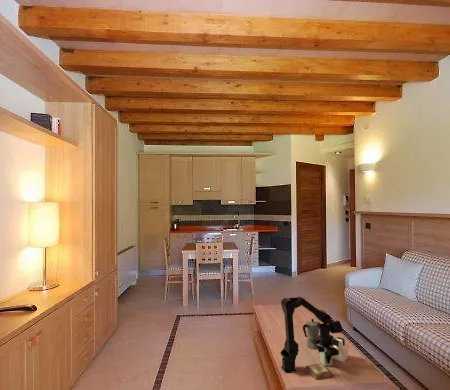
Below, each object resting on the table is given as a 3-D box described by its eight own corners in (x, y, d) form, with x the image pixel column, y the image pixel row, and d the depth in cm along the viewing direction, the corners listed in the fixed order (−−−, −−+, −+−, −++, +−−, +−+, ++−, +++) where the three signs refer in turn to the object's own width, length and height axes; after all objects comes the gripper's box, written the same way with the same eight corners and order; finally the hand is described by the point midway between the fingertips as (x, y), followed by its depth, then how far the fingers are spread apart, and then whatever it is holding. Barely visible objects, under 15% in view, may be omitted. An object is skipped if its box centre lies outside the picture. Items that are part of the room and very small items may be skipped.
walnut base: (315, 379, 169) (315, 374, 169) (306, 370, 179) (305, 365, 179) (331, 376, 172) (331, 371, 172) (321, 367, 181) (321, 363, 182)
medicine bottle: (336, 354, 197) (335, 335, 198) (348, 357, 192) (347, 337, 193) (332, 359, 191) (331, 339, 192) (344, 362, 187) (343, 341, 187)
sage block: (324, 366, 183) (324, 355, 183) (319, 362, 187) (319, 352, 188) (332, 365, 184) (331, 354, 184) (327, 361, 189) (326, 351, 189)
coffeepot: (315, 341, 217) (314, 315, 218) (326, 346, 209) (324, 319, 210) (298, 346, 210) (297, 319, 210) (308, 352, 201) (307, 323, 202)
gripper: (346, 338, 180) (347, 366, 179) (327, 327, 198) (328, 352, 197) (329, 341, 177) (330, 369, 176) (311, 329, 195) (312, 355, 194)
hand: (325, 361), depth 186 cm, fingers closed on sage block, 5 cm apart
